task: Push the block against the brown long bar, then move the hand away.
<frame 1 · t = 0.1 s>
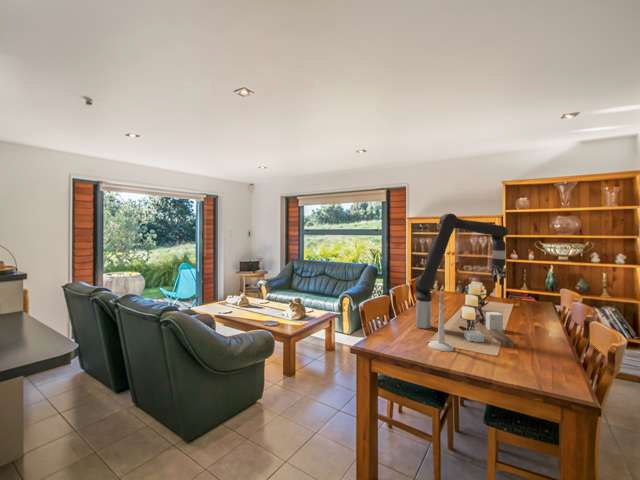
hand: (498, 283, 194), 29 cm above the table, fingers open, 8 cm apart
candlestick: (440, 347, 166), on the table
brown long bar: (500, 340, 176), on the table
block: (473, 339, 178), on the table
small box: (494, 330, 195), on the table
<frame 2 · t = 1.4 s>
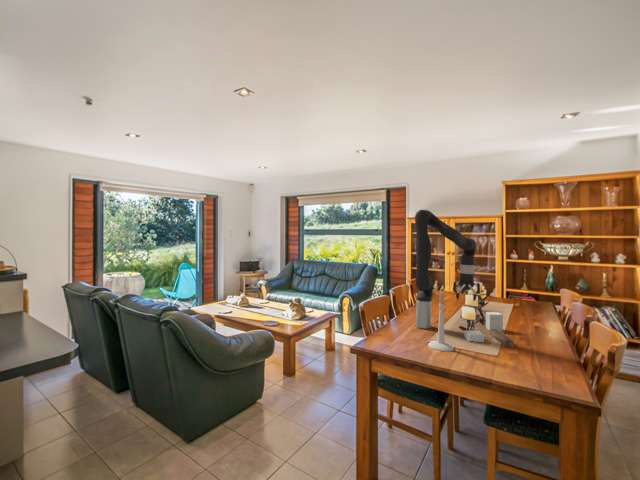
hand: (465, 299, 182), 22 cm above the table, fingers open, 8 cm apart
nothing on the table moved.
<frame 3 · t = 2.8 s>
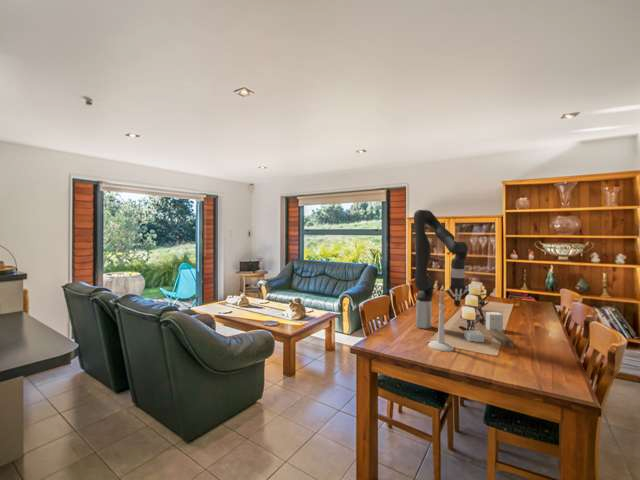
hand: (457, 306, 178), 19 cm above the table, fingers closed
nothing on the table moved.
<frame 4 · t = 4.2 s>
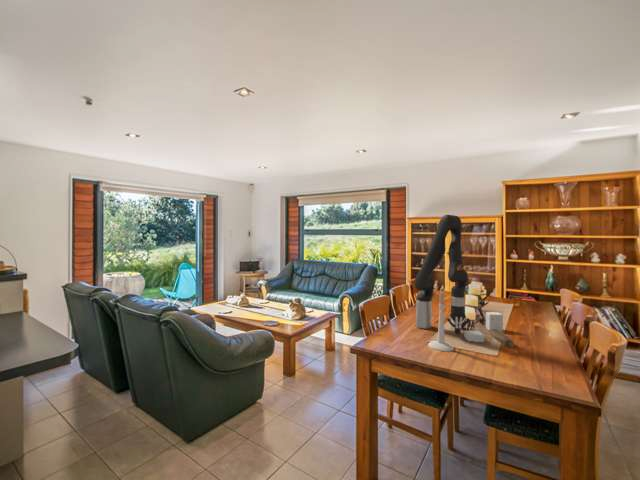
hand: (457, 334, 179), 2 cm above the table, fingers closed
nothing on the table moved.
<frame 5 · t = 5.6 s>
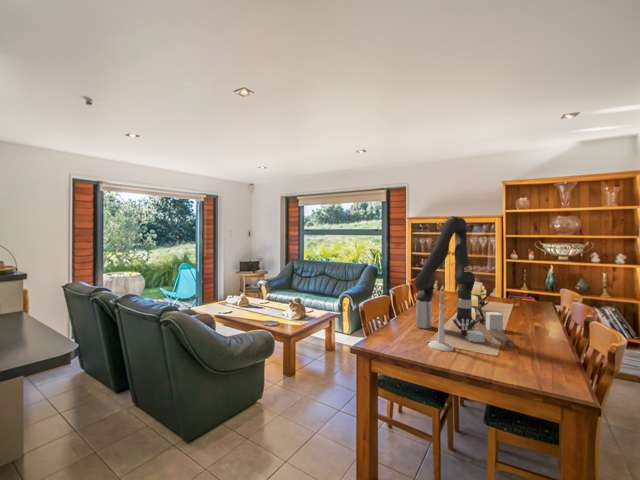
hand: (463, 336, 178), 2 cm above the table, fingers closed
block: (474, 339, 178), on the table, touching gripper
everything else where it was.
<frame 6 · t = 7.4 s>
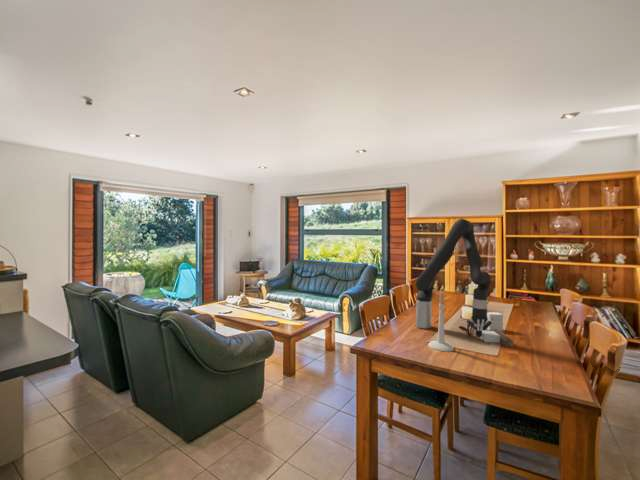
hand: (478, 336, 177), 2 cm above the table, fingers closed
block: (489, 340, 177), on the table, touching brown long bar, gripper
everything else where it was.
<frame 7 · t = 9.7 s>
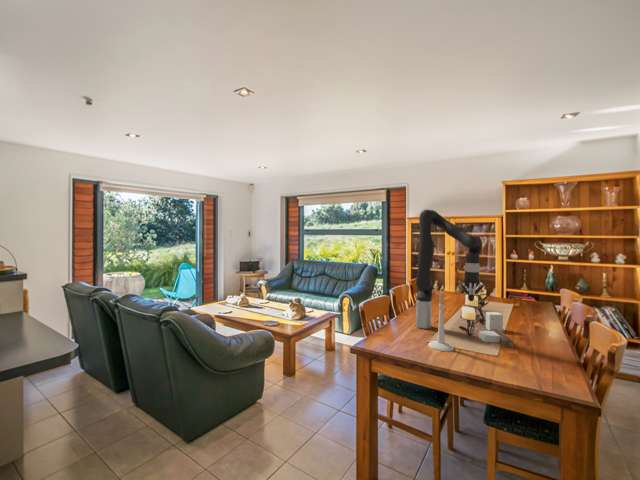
hand: (471, 300, 177), 22 cm above the table, fingers closed
block: (489, 340, 177), on the table
everything else where it was.
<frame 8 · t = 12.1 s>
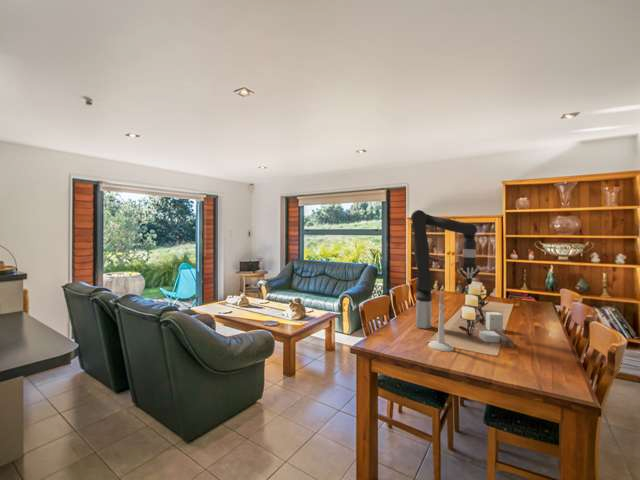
hand: (468, 284, 192), 29 cm above the table, fingers closed
nothing on the table moved.
at the end: block inside the target area on the table beside the brown long bar (0.9 cm from its centre), on the table; block tilted 0° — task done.
